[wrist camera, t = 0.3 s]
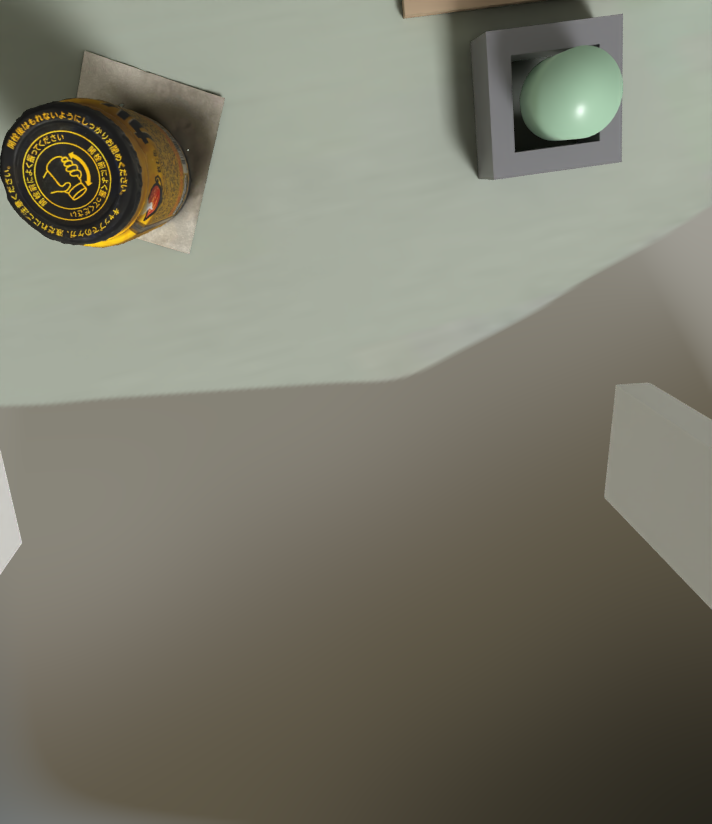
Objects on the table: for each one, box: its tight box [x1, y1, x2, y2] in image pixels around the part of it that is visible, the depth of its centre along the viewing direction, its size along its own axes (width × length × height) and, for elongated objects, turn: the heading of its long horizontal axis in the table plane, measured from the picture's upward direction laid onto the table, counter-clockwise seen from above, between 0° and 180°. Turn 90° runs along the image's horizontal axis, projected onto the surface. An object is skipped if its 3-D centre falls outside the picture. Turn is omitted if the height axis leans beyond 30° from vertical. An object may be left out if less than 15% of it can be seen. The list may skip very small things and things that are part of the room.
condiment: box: [0, 51, 225, 254], centre depth 31 cm, size 7×8×12 cm
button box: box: [470, 14, 623, 180], centre depth 36 cm, size 7×7×3 cm
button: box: [520, 45, 623, 141], centre depth 33 cm, size 4×4×3 cm
